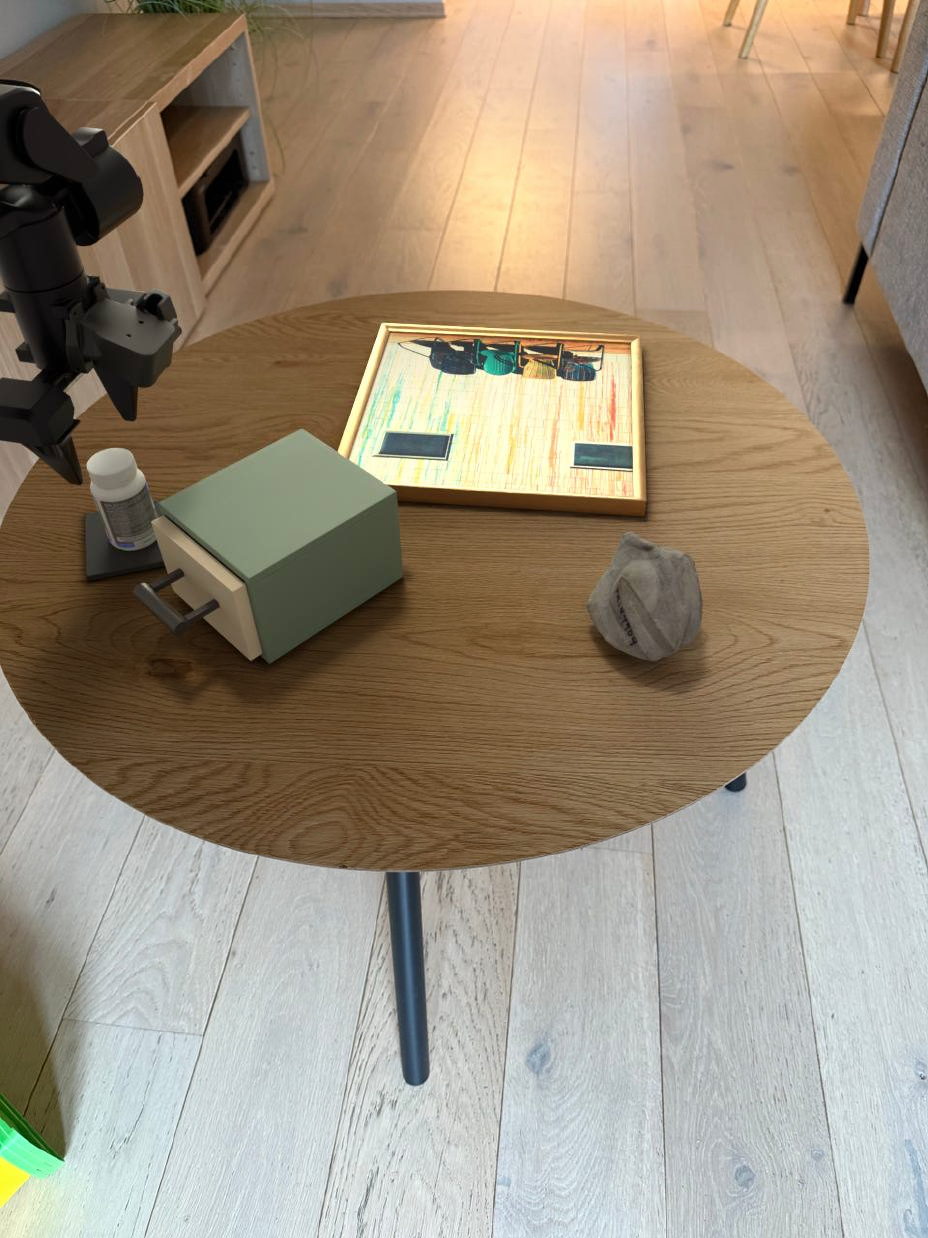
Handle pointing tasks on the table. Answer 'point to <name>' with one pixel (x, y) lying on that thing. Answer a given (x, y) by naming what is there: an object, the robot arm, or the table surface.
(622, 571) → the fossil
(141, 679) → the table surface
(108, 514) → the pill bottle
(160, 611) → the drawer
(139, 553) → the coaster
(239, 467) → the cabinet
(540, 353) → the picture frame
